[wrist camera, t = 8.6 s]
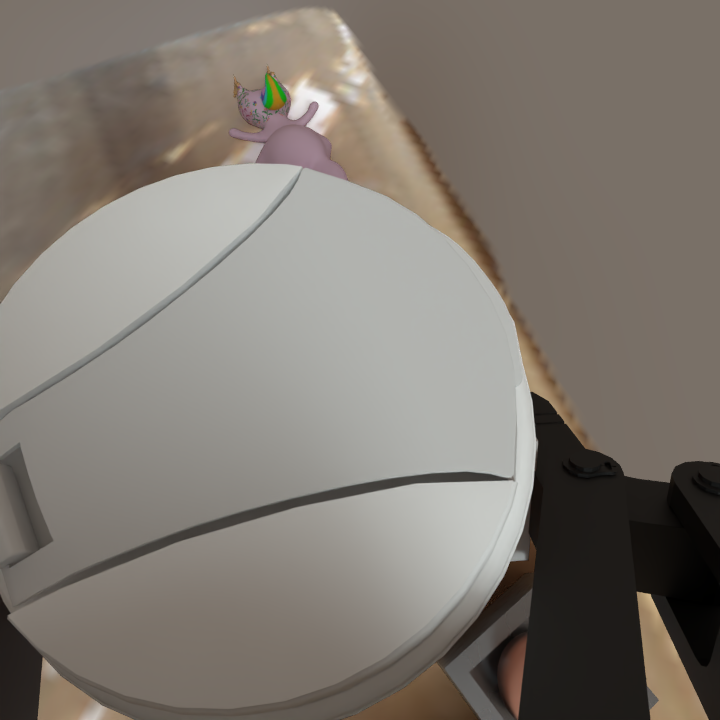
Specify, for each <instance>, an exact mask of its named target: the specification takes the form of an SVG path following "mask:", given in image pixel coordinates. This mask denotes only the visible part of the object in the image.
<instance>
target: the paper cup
mask: <svg viewBox="0 0 720 720" xmlns="http://www.w3.org/2000/svg"><path fill="white" fill-rule="evenodd" d="M535 455H536V434H535V423H534V413H533V402H532V398H531V394H530V390H529V386H528V382H527V378H526V374H525V370H524V367H523V363H522V358H521V353H520V348H519V343H518V338H517V333H516V328H515V323H514V321H513V319H512V317H511V316H510V314H509V312H508V310H507V307H506V305H505V303H504V301H503V300H502V298H501V296H500V295H499V293H498V292H497V290H496V288H495V287H494V285H493V284H492V283H491V281H490V280H489V279H488V277H487V276H486V275H485V273H484V272H483V271H482V270H481V268H480V267H479V266H478V265H477V263H476V262H475V261H474V260H473V259H472V258H471V257H470V256H469V255H468V254H467V253H466V252H465V251H464V250H463V249H462V248H461V247H460V246H459V245H458V244H457V243H456V242H454V241H453V240H452V239H451V238H449V237H448V236H447V235H445V234H443V233H442V232H440V231H438V230H437V229H435V228H433V227H432V226H430V225H429V224H427V223H426V222H425V221H424V220H423V219H422V218H420V217H419V216H418V215H417V214H415V213H414V212H412V211H410V210H409V209H407V208H405V207H404V206H402V205H400V204H399V203H397V202H395V201H394V200H392V199H390V198H389V197H387V196H385V195H382V194H380V193H377V192H375V191H372V190H370V189H367V188H365V187H362V186H359V185H357V184H354V183H352V182H349V181H346V180H343V179H340V178H337V177H334V176H331V175H328V174H325V173H321V172H318V171H315V170H312V169H309V168H302V166H295V165H289V164H258V163H247V164H237V165H228V166H218V167H210V168H206V169H202V170H197V171H193V172H188V173H184V174H180V175H175V176H172V177H170V178H167V179H164V180H161V181H158V182H156V183H153V184H150V185H147V186H145V187H142V188H139V189H137V190H135V191H133V192H131V193H129V194H127V195H125V196H123V197H121V198H119V199H117V200H115V201H113V202H111V203H109V204H107V205H105V206H104V207H102V208H101V209H99V210H98V211H96V212H95V213H93V214H92V215H90V216H89V217H87V218H85V219H84V220H82V221H81V222H79V223H78V224H76V225H75V226H73V227H72V228H71V229H70V230H68V231H67V232H66V233H65V234H64V235H63V236H61V237H60V238H59V239H58V240H57V241H56V242H55V243H53V244H52V245H51V246H50V247H49V248H48V249H46V250H45V251H44V252H43V253H42V254H41V255H40V256H39V257H38V258H37V259H36V260H35V261H34V263H33V264H32V265H31V266H30V267H29V268H28V269H27V270H26V272H25V273H24V274H23V275H22V276H21V277H20V278H19V279H18V280H17V282H16V283H15V284H14V285H13V287H12V288H11V289H10V291H9V292H8V294H7V295H6V297H5V298H4V300H3V301H2V303H1V304H0V595H1V597H2V600H3V602H4V604H5V605H6V607H7V608H8V610H9V611H10V613H11V614H9V615H7V616H8V618H7V619H8V620H9V621H10V622H11V623H12V625H13V626H14V627H15V628H16V629H17V630H18V631H19V632H20V633H21V634H22V635H23V636H24V637H25V638H26V639H27V640H28V641H29V642H30V644H31V645H32V646H33V647H34V648H35V649H36V650H37V651H38V652H39V653H40V654H41V655H42V656H43V657H44V658H45V659H46V660H47V661H48V662H49V663H50V665H51V666H52V667H53V668H54V669H55V670H56V671H57V672H58V673H59V674H60V675H61V676H62V677H63V678H65V679H66V680H67V681H69V682H70V683H72V684H73V685H75V686H76V687H77V688H79V689H80V690H82V691H83V692H84V693H86V694H87V695H89V696H90V697H91V698H93V699H94V700H96V701H97V702H99V703H100V704H101V705H103V706H105V707H107V708H110V709H112V710H114V711H116V712H119V713H121V714H123V715H125V716H128V717H130V718H132V719H134V720H341V719H344V718H347V717H350V716H353V715H356V714H358V713H359V712H361V711H363V710H365V709H367V708H369V707H370V706H372V705H374V704H376V703H378V702H379V701H381V700H383V699H385V698H387V697H389V696H390V695H392V694H394V693H396V692H398V691H399V690H401V689H403V688H404V687H406V686H407V685H408V684H409V683H411V682H412V681H413V680H414V679H416V678H417V677H418V676H419V675H421V674H422V673H423V672H424V671H426V670H427V669H428V668H429V667H430V666H432V665H433V664H434V663H435V662H437V661H438V660H439V659H440V658H442V657H443V656H444V655H445V654H446V653H447V652H448V651H449V649H450V648H451V647H452V646H453V645H454V644H455V643H456V642H457V640H458V639H459V638H460V637H461V636H462V635H463V634H464V633H465V632H466V630H467V629H468V628H469V627H470V626H471V625H472V624H473V623H474V621H475V620H476V619H477V618H478V617H479V615H480V613H481V612H482V610H483V609H484V607H485V606H486V604H487V602H488V601H489V599H490V598H491V596H492V594H493V593H494V591H495V590H496V588H497V586H498V585H499V583H500V582H501V580H502V578H503V577H504V575H505V573H506V570H507V568H508V566H509V563H510V561H511V558H512V556H513V554H514V551H515V549H516V546H517V544H518V542H519V539H520V537H521V535H522V532H523V528H524V524H525V520H526V516H527V511H528V507H529V503H530V499H531V494H532V490H533V484H534V469H535Z"/></svg>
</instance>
